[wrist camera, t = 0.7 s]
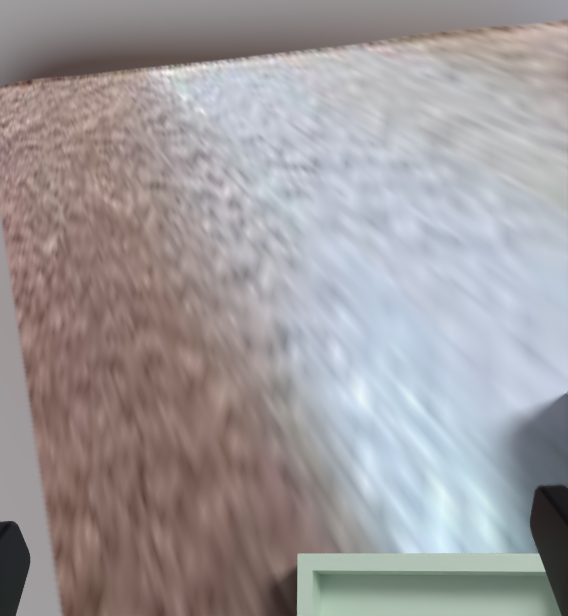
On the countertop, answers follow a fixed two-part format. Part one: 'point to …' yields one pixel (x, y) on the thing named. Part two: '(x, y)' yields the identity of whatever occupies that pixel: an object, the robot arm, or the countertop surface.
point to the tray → (424, 585)
